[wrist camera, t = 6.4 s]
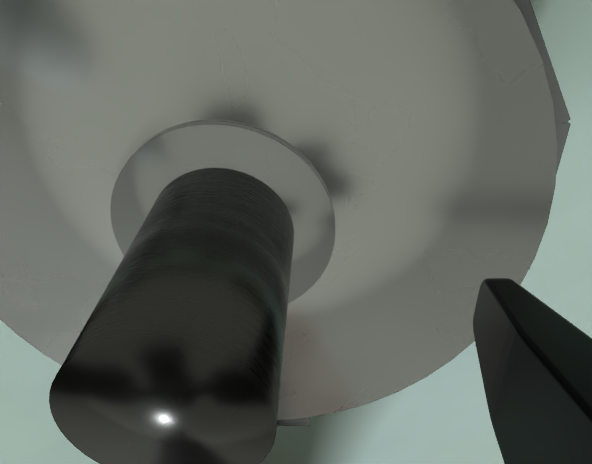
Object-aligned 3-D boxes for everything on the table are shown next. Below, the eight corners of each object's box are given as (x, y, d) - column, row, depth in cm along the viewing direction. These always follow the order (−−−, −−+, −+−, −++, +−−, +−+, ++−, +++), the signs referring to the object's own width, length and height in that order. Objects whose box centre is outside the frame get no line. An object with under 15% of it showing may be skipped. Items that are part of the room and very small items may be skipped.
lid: (480, 400, 14) (555, 641, 9) (39, 391, 15) (-89, 611, 10) (637, -194, 7) (1231, -378, 2) (-221, -153, 8) (-1012, -233, 3)
